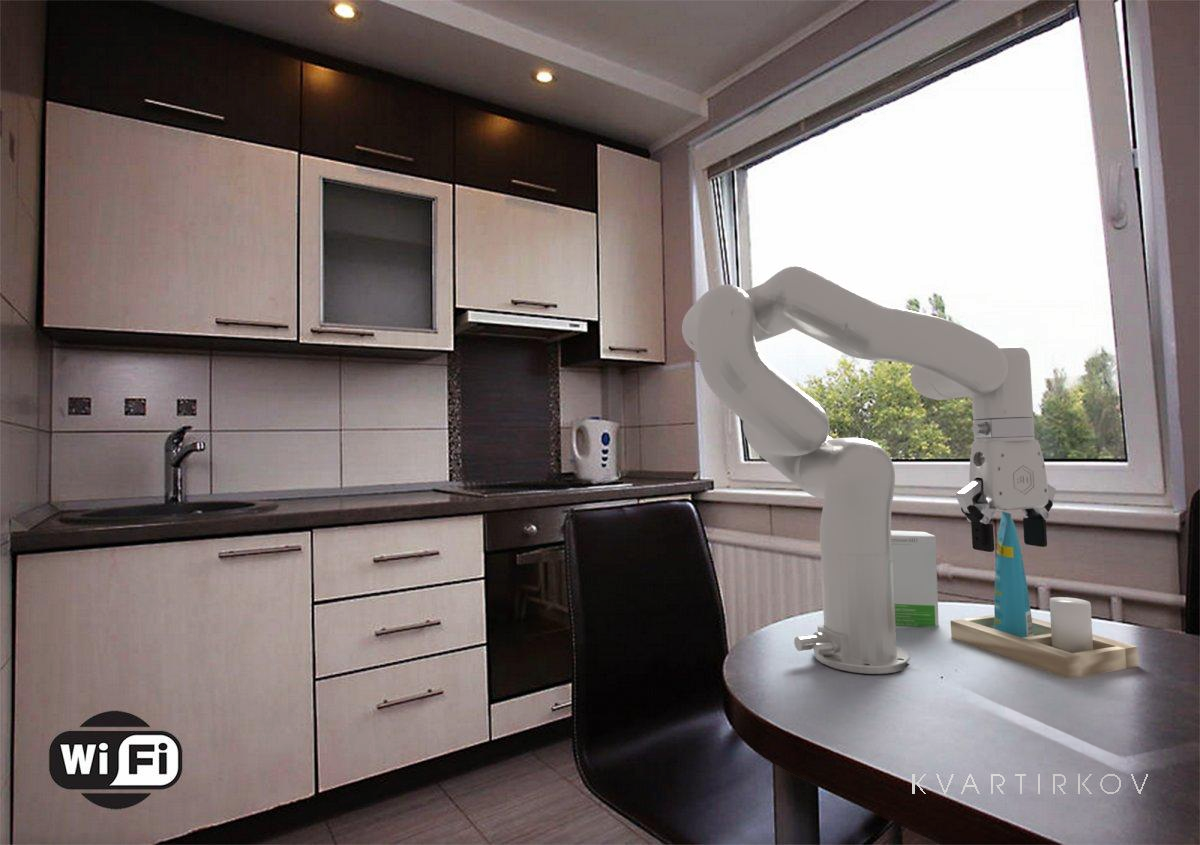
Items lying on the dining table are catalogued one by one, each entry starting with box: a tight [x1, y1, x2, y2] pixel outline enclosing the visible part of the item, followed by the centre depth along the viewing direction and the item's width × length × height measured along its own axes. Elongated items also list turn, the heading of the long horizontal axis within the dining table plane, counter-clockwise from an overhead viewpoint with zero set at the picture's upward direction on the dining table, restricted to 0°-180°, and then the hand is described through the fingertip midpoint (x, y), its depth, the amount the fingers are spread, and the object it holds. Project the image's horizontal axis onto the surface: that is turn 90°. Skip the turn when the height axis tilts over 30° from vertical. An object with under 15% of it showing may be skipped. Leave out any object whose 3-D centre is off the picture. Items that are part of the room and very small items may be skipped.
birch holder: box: [950, 614, 1140, 679], centre depth 89 cm, size 12×18×4 cm, turn 16°
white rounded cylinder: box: [1049, 596, 1093, 653], centre depth 84 cm, size 4×4×8 cm
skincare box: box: [891, 530, 939, 631], centre depth 106 cm, size 8×7×16 cm
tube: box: [993, 510, 1034, 638], centre depth 92 cm, size 7×5×19 cm, turn 161°
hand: (1009, 547), depth 93 cm, fingers open, 9 cm apart
